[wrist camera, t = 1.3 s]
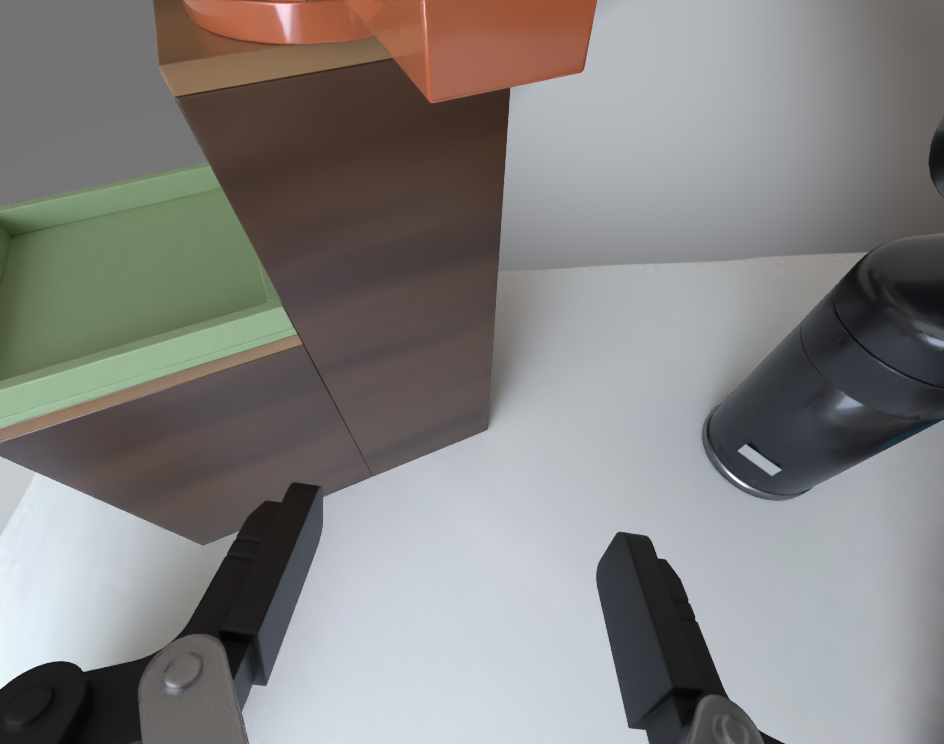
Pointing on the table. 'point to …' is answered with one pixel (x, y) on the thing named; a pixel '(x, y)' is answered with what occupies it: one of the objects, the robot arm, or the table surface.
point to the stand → (310, 288)
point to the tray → (125, 289)
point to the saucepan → (425, 35)
